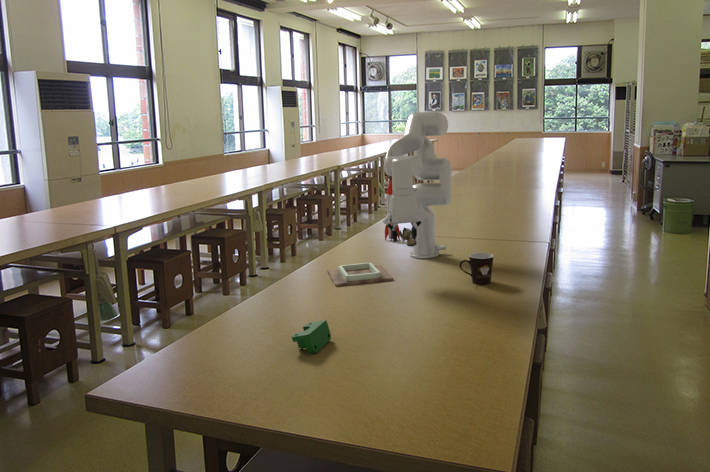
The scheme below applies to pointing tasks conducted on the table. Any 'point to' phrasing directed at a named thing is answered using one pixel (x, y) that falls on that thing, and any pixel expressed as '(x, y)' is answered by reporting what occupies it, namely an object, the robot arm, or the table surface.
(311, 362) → the table surface
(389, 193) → the toy rocket
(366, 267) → the jig board
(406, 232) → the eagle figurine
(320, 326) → the clamp
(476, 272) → the coffee mug
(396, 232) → the robot arm
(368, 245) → the table surface
